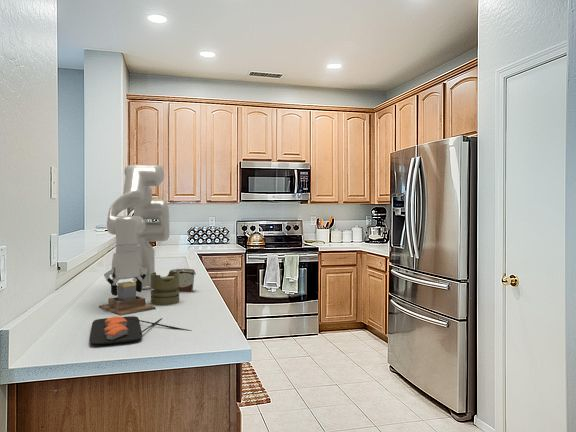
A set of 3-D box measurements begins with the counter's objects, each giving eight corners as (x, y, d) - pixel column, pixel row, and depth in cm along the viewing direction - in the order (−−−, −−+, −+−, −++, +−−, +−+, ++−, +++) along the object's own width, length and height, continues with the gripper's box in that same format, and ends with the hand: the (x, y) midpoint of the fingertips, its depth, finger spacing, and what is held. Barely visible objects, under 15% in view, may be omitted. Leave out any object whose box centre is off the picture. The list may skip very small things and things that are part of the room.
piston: (182, 274, 183) (153, 276, 178) (182, 303, 183) (153, 306, 178) (175, 270, 193) (148, 272, 188) (175, 298, 193) (148, 301, 188)
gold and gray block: (117, 306, 175) (117, 283, 175) (129, 304, 178) (129, 281, 178) (123, 308, 171) (123, 284, 171) (136, 306, 175) (135, 282, 175)
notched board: (98, 307, 176) (98, 297, 176) (132, 302, 186) (132, 292, 186) (120, 315, 164) (120, 304, 164) (155, 308, 174) (155, 299, 174)
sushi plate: (92, 324, 153) (92, 313, 153) (183, 317, 164) (183, 306, 164) (88, 350, 126) (88, 337, 126) (197, 339, 137) (197, 326, 137)
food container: (199, 290, 212) (199, 268, 212) (195, 292, 206) (195, 270, 206) (173, 289, 214) (173, 268, 213) (169, 292, 207) (168, 270, 207)
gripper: (142, 246, 183) (142, 289, 184) (99, 250, 171) (100, 295, 171) (151, 248, 178) (152, 291, 178) (108, 251, 165) (109, 298, 166)
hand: (126, 293), depth 175 cm, fingers open, 9 cm apart
